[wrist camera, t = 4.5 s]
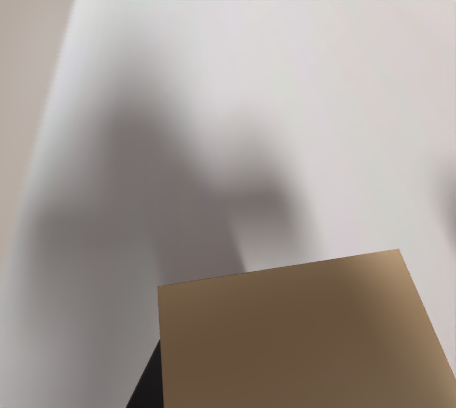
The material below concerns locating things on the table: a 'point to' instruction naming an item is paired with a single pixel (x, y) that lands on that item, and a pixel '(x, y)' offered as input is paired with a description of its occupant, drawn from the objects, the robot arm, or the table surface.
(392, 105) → the table surface
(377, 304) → the tall oak block
